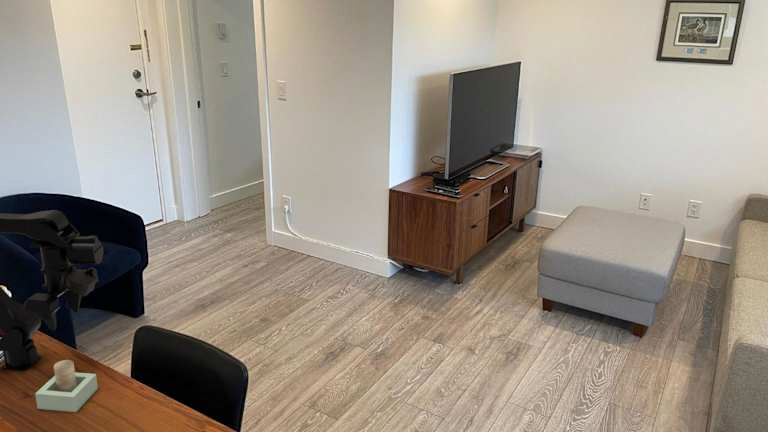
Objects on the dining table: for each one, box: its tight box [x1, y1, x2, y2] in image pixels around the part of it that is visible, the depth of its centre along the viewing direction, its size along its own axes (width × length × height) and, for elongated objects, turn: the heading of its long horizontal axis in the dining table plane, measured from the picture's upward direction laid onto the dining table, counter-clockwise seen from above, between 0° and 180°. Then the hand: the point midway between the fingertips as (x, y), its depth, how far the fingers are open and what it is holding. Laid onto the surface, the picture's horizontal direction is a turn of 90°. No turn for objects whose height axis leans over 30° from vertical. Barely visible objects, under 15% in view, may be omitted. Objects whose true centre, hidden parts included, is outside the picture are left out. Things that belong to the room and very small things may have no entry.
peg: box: [53, 359, 77, 392], centre depth 133 cm, size 4×4×9 cm
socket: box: [34, 371, 99, 413], centre depth 134 cm, size 9×9×4 cm
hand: (65, 320), depth 145 cm, fingers open, 9 cm apart
